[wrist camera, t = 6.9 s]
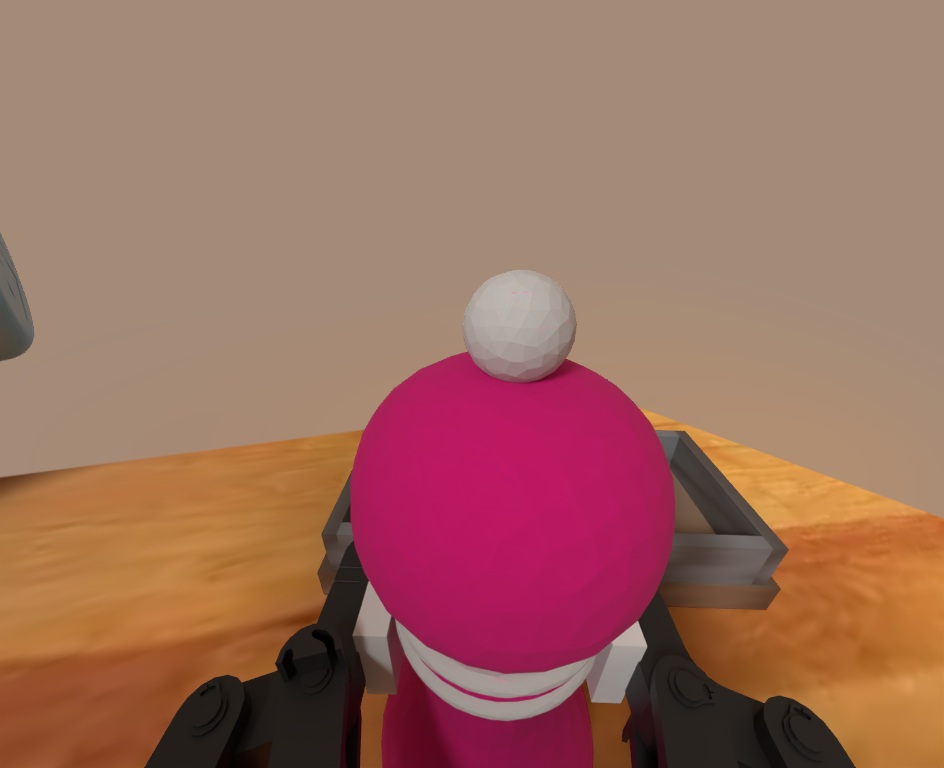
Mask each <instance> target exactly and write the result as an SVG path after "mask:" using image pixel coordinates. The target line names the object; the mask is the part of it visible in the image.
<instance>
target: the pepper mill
mask: <svg viewBox="0 0 944 768" xmlns="http://www.w3.org/2000/svg"><path fill="white" fill-rule="evenodd" d="M576 325H577V324H576V317H575V311H574V308H573V306H572V303H571V301H570V299H569V298H568V296H567V295H566V293H565V292H564V290H563V289H562V287H561V286H560V285H558V284H557V283H556V282H555V281H554V280H553V279H551V278H549V277H547V276H545V275H542V274H540V273H537V272H534V271H529V270H516V271H509V272H505V273H502V274H499V275H497V276H495V277H493V278H491V279H489V280H487V281H486V282H484V284H482V285H481V286H480V288H479V289H478V290H477V291H476V292H475V294H474V295H473V297H472V299H471V300H470V303H469V304H468V306H467V308H466V310H465V314H464V321H463V335H464V341H465V345H466V348H467V350H468V352H465V353H461V354H458V355H454V356H451V357H449V358H446V359H444V360H442V361H439V362H437V363H434V364H432V365H430V366H427V367H425V368H422V369H420V370H419V371H417V372H416V373H415V374H413V375H412V376H411V377H409V378H408V379H407V380H405V381H404V382H402V383H401V384H400V385H398V386H397V387H395V388H394V389H393V391H391V393H390V394H389V395H388V396H387V398H386V399H385V400H384V401H383V402H382V403H381V405H380V406H379V407H378V409H377V410H376V412H375V413H374V415H373V416H372V418H371V419H370V421H369V423H368V425H367V426H366V428H365V430H364V432H363V434H362V437H361V441H360V444H359V447H358V451H357V454H356V457H355V461H354V465H353V470H352V475H351V480H350V495H351V526H352V532H353V538H354V544H355V548H356V551H357V554H358V556H359V559H360V562H361V564H362V567H363V570H364V572H365V575H366V576H367V578H368V580H369V581H370V583H371V585H372V587H373V588H374V590H375V592H376V594H377V595H378V597H379V599H380V600H381V602H382V604H383V606H384V607H385V609H386V611H387V612H388V613H389V614H390V615H392V616H393V617H394V618H395V622H396V627H397V633H398V636H399V639H400V642H401V644H402V647H403V650H404V652H405V654H404V656H403V661H402V667H401V673H400V678H399V684H398V690H397V695H396V694H389V696H388V700H387V703H386V707H385V711H384V716H383V730H382V765H383V768H593V754H594V751H593V741H592V731H591V722H590V717H589V712H588V707H587V703H586V699H585V696H584V692H583V689H582V685H581V684H582V683H583V682H584V680H585V679H586V677H587V675H588V674H589V672H590V670H591V669H592V667H593V664H594V662H595V659H596V657H597V654H598V653H599V652H600V651H601V650H603V649H604V648H605V647H606V646H608V645H609V644H610V643H611V642H612V641H614V640H615V639H616V638H617V637H619V636H620V635H621V634H622V633H624V632H625V631H626V630H627V629H628V628H630V627H631V626H632V625H633V624H635V623H636V622H637V621H638V620H639V618H640V617H641V615H642V614H643V612H644V611H645V609H646V608H647V606H648V605H649V603H650V602H651V600H652V599H653V597H654V596H655V593H656V591H657V589H658V586H659V584H660V582H661V580H662V577H663V575H664V572H665V569H666V566H667V563H668V560H669V557H670V553H671V550H672V544H673V536H674V528H675V492H674V480H673V476H672V473H671V470H670V467H669V464H668V461H667V458H666V455H665V452H664V449H663V446H662V444H661V442H660V440H659V438H658V436H657V434H656V432H655V430H654V428H653V426H652V425H651V423H650V421H649V420H648V419H647V418H646V417H645V415H644V414H643V413H642V412H641V410H640V409H639V408H638V407H637V406H636V404H635V403H634V402H633V401H632V400H631V399H630V398H629V397H628V396H627V395H626V394H624V393H623V392H622V391H621V390H620V389H619V388H618V387H617V386H616V385H614V384H613V383H611V382H610V381H608V380H607V379H605V378H603V377H602V376H600V375H599V374H597V373H596V372H594V371H592V370H590V369H588V368H586V367H584V366H582V365H579V364H577V363H575V362H572V361H570V360H568V359H566V357H567V355H568V354H569V352H570V351H571V348H572V345H573V343H574V340H575V333H576Z"/></svg>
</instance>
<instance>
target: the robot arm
mask: <svg viewBox="0 0 944 768" xmlns="http://www.w3.org/2000/svg"><path fill="white" fill-rule="evenodd" d="M33 338H34V327H33V322H32V317H31V313H30V309H29V306H28V303H27V299H26V296H25V293H24V291H23V288H22V285H21V282H20V280H19V277H18V274H17V271H16V268H15V266H14V264H13V261H12V259H11V256H10V254H9V252H8V249H7V247H6V244H5V242H4V240H3V238H2V235H1V233H0V361H3V360H8V359H12V358H15V357H17V356H20V355H21V354H23V353H24V352H25V351H27V350H28V349H29V347H30V346H31V344H32V341H33ZM403 655H404V650H403V647H402V644H401V642H400V639H399V636H398V633H397V627H396V622H395V618H394V617H393V616H392V615H390V614H389V613H388V612H387V611H386V609H385V607H384V606H383V604H382V602H381V600H380V599H379V597H378V595H377V594H376V592H375V590H374V588H373V587H372V585H371V583H370V581H369V580H368V578H367V576H366V575H365V572H364V570H363V567H362V564H361V562H360V559H359V556H358V554H357V551H356V548H355V544H354V540H353V541H352V542H351V544H350V545H349V546H348V547H347V548H346V550H345V553H344V555H343V558H342V560H341V563H340V567H339V569H338V571H337V573H336V576H335V578H334V583H333V584H332V586H331V589H330V591H329V594H328V596H327V599H326V602H325V604H324V607H323V609H322V612H321V614H320V617H319V619H318V622H317V624H312V625H309V626H307V627H304V628H302V629H301V630H299V631H298V632H297V633H295V634H294V635H293V636H292V637H290V638H289V640H288V641H287V642H286V644H285V645H284V646H283V648H282V649H281V651H280V653H279V656H278V658H277V661H276V663H275V664H276V666H277V668H278V670H277V671H275V672H272V673H269V674H266V675H263V676H260V677H257V678H254V679H251V680H248V681H246V682H243V683H241V681H240V680H239V679H238V678H237V677H234V676H230V675H225V676H220V677H215V678H213V679H212V680H210V681H208V682H206V683H204V684H202V685H201V686H200V687H199V688H198V689H196V690H195V691H194V692H193V693H192V694H191V695H190V696H189V697H188V698H187V699H186V700H185V702H184V703H183V705H182V706H181V707H180V709H179V710H178V711H177V713H176V714H175V716H174V718H173V720H172V721H171V723H170V725H169V726H168V728H167V730H166V732H165V733H164V735H163V737H162V738H161V740H160V742H159V744H158V745H157V747H156V749H155V750H154V752H153V754H152V756H151V757H150V759H149V761H148V762H147V764H146V766H145V768H360V748H361V720H362V717H361V710H360V705H361V701H362V697H363V693H364V689H365V685H366V689H367V693H371V694H396V695H397V690H398V684H399V678H400V673H401V667H402V661H403ZM586 681H587V686H588V690H589V695H590V700H591V702H597V703H621V702H622V700H623V698H624V695H625V693H626V696H627V700H628V703H629V707H630V710H631V715H630V717H629V719H628V721H627V723H626V725H625V727H624V729H623V734H622V741H623V742H625V743H627V741H628V739H630V751H631V763H632V768H856V767H855V766H854V764H853V763H852V761H851V760H850V758H849V757H848V755H847V753H846V752H845V750H844V749H843V747H842V746H841V744H840V743H839V741H838V740H837V738H836V737H835V736H834V734H833V733H832V732H831V730H830V729H829V728H828V727H827V725H826V724H825V723H824V722H823V721H822V720H821V719H820V718H819V717H818V716H817V715H815V714H814V713H813V712H812V711H811V710H810V709H809V708H807V707H805V706H804V705H802V704H800V703H799V702H797V701H795V700H793V699H790V698H786V697H783V696H776V697H771V698H769V699H768V700H767V701H766V702H765V703H762V702H760V701H757V700H755V699H752V698H750V697H747V696H744V695H742V694H739V693H737V692H734V691H732V690H729V689H727V688H725V687H723V686H721V685H719V684H717V683H716V682H714V681H713V680H712V679H710V678H709V677H708V676H707V675H706V674H705V672H703V671H702V670H701V669H700V668H699V667H698V666H696V664H695V663H694V662H693V660H692V659H691V658H690V656H689V654H688V652H687V651H686V649H685V647H684V645H683V642H682V640H681V638H680V636H679V634H678V631H677V629H676V627H675V625H674V623H673V620H672V618H671V616H670V614H669V611H668V609H667V607H666V605H665V603H664V600H663V598H662V596H661V594H660V593H659V589H657V591H656V593H655V596H654V597H653V599H652V600H651V602H650V603H649V605H648V606H647V608H646V609H645V611H644V612H643V614H642V615H641V617H640V618H639V620H638V621H637V622H636V623H635V624H633V625H632V626H631V627H630V628H628V629H627V630H626V631H625V632H624V633H622V634H621V635H620V636H619V637H617V638H616V639H615V640H614V641H612V642H611V643H610V644H609V645H608V646H606V647H605V648H604V649H603V650H601V651H600V652H599V653H598V654H597V657H596V659H595V662H594V664H593V667H592V669H591V670H590V672H589V674H588V675H587V677H586Z"/></svg>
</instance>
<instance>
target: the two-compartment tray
mask: <svg viewBox="0 0 944 768" xmlns="http://www.w3.org/2000/svg"><path fill="white" fill-rule="evenodd" d="M655 432H656V434H657V436H658V438H659V440H660V442H661V444H662V446H663V449H664V452H665V455H666V458H667V461H668V464H669V467H670V470H671V473H672V476H673V480H674V492H675V528H674V536H673V544H672V550H671V553H670V557H669V560H668V563H667V566H666V569H665V572H664V575H663V577H662V580H661V582H660V584H659V586H658V589H659V593H660V594H661V596H662V598H663V600H664V603H665V605H666V606H672V607H699V608H727V609H755V610H766V609H767V608H768V606H769V605H770V604H771V602H772V601H773V599H774V598H775V596H776V595H777V594H778V592H779V591H780V587H779V586H778V585H777V583H776V582H775V581H774V580H773V578H772V577H771V576H772V574H773V573H774V571H775V570H776V568H777V567H778V565H779V564H780V562H781V561H782V559H783V558H784V556H785V555H786V553H787V552H788V550H789V549H788V548H787V547H786V546H785V545H784V544H783V542H782V541H781V540H780V539H779V538H778V537H777V536H776V534H775V533H774V532H773V531H772V530H771V529H770V528H769V526H768V525H767V524H766V523H765V522H764V521H763V520H762V518H761V517H760V516H759V515H758V514H757V513H756V512H755V510H754V509H753V508H752V507H751V506H750V505H749V504H748V502H747V501H746V500H745V499H744V498H743V497H742V496H741V495H740V493H739V492H738V491H737V490H736V489H735V488H734V487H733V485H732V484H731V483H730V482H729V481H728V480H727V479H726V477H725V476H724V475H723V474H722V473H721V472H720V471H719V469H718V468H717V467H716V466H715V465H714V464H713V463H712V461H711V460H710V459H709V458H708V457H707V456H706V455H705V453H704V452H703V451H702V450H701V449H700V448H699V447H698V445H697V444H696V443H695V442H694V441H693V440H692V439H691V437H690V436H689V435H688V434H687V433H686V432H685V431H666V430H655ZM352 470H353V469H352ZM351 475H352V472H351V474H350V476H349V478H348V480H347V482H346V484H345V486H344V488H343V490H342V492H341V494H340V497H339V499H338V501H337V503H336V505H335V507H334V509H333V511H332V513H331V515H330V517H329V519H328V522H327V524H326V526H325V528H324V530H323V532H322V538H323V542H324V545H325V549H326V555H325V557H324V559H323V561H322V564H321V566H320V568H319V571H318V576H319V579H320V583H321V586H322V589H323V593H324V594H329V591H330V589H331V586H332V584H333V583H334V578H335V576H336V573H337V571H338V569H339V567H340V563H341V560H342V558H343V555H344V553H345V550H346V548H347V547H348V546H349V545H350V544H351V542H352V541H353V540H354V538H353V532H352V526H351V495H350V480H351Z"/></svg>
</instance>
